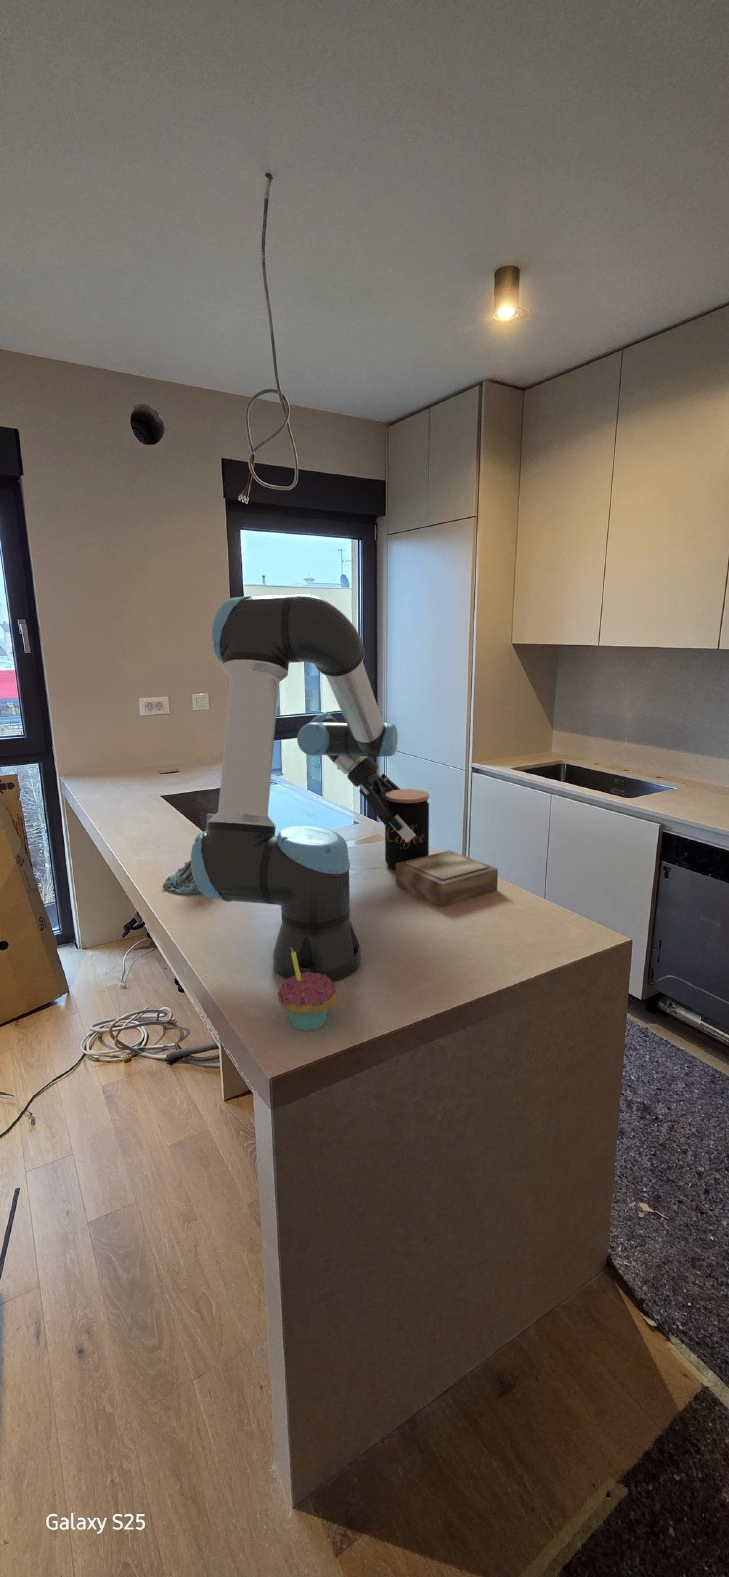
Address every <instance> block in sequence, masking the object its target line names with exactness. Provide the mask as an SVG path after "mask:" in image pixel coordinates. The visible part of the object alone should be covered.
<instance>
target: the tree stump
mask: <svg viewBox="0 0 729 1577" xmlns="http://www.w3.org/2000/svg"><path fill="white" fill-rule="evenodd" d="M215 814H216V813H206V826H205V831H207V830H208V820H210V819H211V818H212V817H213V816H214V815H215ZM163 887H164V889H166V890H167V891H168V892H169V893H173V894H176V895H183V896H185V895H187V896H193V895H196V896H197V895H203V894H202V893H201V892H200V891H199V889H198V887H197V885H196V884H195V881H194V879H193V875H192V870H191V859H190V860H189V861H188V862H184V866H183V867H181V868H178V869H177V871H176V872H175V873H173V874H172V875H169V876H167V878H166V879H165V881H164V883H163Z"/></svg>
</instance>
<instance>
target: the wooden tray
mask: <svg viewBox="0 0 729 1577" xmlns="http://www.w3.org/2000/svg"><path fill="white" fill-rule="evenodd" d="M498 870H499V869H498V868H497V867H495V866H491V865H489V864H486V863H484V862H481V861H478V860H476V859H473V858H471V857H468V856H465V855H463V854H460V853H457V852H456V851H453V850H445V851H441V852H438V853H433V854H429V856H424V857H420V858H416V859H412V860H408V861H404V862H400V863H396V870H395V885H396V886H398V887H401V888H403V889H405V890H407V891H409V892H411V893H412V894H415V895H416V896H419V897H420V898H422V899H424V900H426V901H429V902H430V903H433V904H435V905H436V906H439V907H440V908H443V907H447V906H449V905H452V904H453V905H454V904H456V903H460V902H462V901H466V900H469V899H473V898H476V897H480V896H482V895H486V894H489V893H492V892H495V891H498V878H499V876H498V874H499V872H498Z"/></svg>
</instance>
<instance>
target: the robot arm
mask: <svg viewBox="0 0 729 1577" xmlns="http://www.w3.org/2000/svg"><path fill="white" fill-rule="evenodd" d="M211 641H212V642H213V645H212V649H213V652H214V654H215V656H216V658H217V659H218V660H219V661H220V662H221V663H222V669H223V671H224V673H225V674H226V675H228V676H229V686H228V687H229V688H228V697H227V698H228V699H227V711H226V721H225V732H224V734H225V735H224V741H223V742H224V743H223V744H224V745H223V753H222V754H223V755H222V765H221V774H220V776H221V777H220V786H219V787H220V789H219V798H218V800H219V801H218V809H217V812H216V813H214V814H215V815H214V816H213V817H212V818H211V819H210V820H208V830H207V831H202V832H200V833H198V835H196V837H195V839H194V843H193V844H192V847H191V852H190V860H191V870H192V875H193V879H194V881H195V884H196V885H197V887H198V889H199V891H200V892H201V893H202V894H201V895H203V896H204V897H206V898H209V899H213V900H214V899H215V900H220V901H224V902H226V903H227V902H229V903H230V902H240V903H253V904H263V905H264V904H266V905H276V906H280V912H281V924H280V926H279V927H280V928H279V931H278V934H277V936H276V937H277V938H276V940H275V945H274V949H273V952H272V953H273V954H272V960H273V961H272V962H273V964H272V965H273V968H274V971H275V972H276V973H277V974H278V975H279V976H280V977H282V978H284V979H285V980H286V979H288V978H290V977H292V976H294V975H296V974H295V969H294V964H293V960H292V955H291V953H292V950H291V948H292V949H293V952H296V957H297V961H298V966H299V970H300V973H302V972H303V973H305V972H312V973H320V974H322V975H326V977H328V978H329V979H330V980H331V981H332V982H335V981H338V980H341V979H344V978H346V977H349V976H350V975H351V974H353V973H355V972H356V971H357V970H358V969H359V967H360V965H361V963H362V956H361V955H362V953H361V952H362V950H361V945H360V943H359V940H358V937H357V934H356V932H355V929H354V926H353V923H352V920H351V913H350V912H351V911H350V910H351V909H350V907H351V906H350V901H351V900H350V868H351V863H350V860H349V850H348V844H347V841H346V839H344V837H343V836H342V835H340V834H339V833H337V832H335V831H333V830H331V829H329V828H328V829H327V828H324V827H320V826H314V825H313V826H312V825H302V826H296V825H295V826H287V827H285V828H283V829H281V830H280V831H279V832H278V834H277V835H276V827H277V826H276V824H275V823H274V821H273V820H272V819H271V818H270V816H269V804H270V791H271V782H272V768H273V760H274V759H273V756H274V755H273V754H274V745H275V743H274V742H275V733H276V732H275V731H276V721H277V708H278V696H279V684H280V683H281V682H282V681H283V680H284V679H285V678H287V677H288V675H289V664H291V663H309V664H313V665H315V667H316V670H318V671H319V673H321V674H322V675H323V676H325V677H326V679H327V681H328V684H329V686H330V689H331V690H332V691H331V692H333V693H332V694H333V696H334V698H335V700H336V703H337V704H338V707H339V710H340V711H341V712H340V713H341V714H342V716H343V718H344V721H345V722H338V720H337V719H336V718H335V717H334V716H332V714H330V713H329V712H327V711H324V712H321V713H319V714H317V715H316V716H315V717H314V718H313V719H311V721H310V722H308V723H306V724H305V725H303V726H302V727H301V728H300V729H299V731H298V733H297V738H296V740H297V745H298V748H299V749H300V751H301V752H303V753H304V754H306V755H308V756H312V757H320V756H326V757H328V758H329V759H330V761H332V763H334V765H336V769H337V770H339V771H341V772H342V773H343V775H346V776H347V779H348V780H349V782H350V783H352V785H353V786H354V787H355V788H358V787H360V786H362V787H361V788H360V789H359V793H360V794H361V795H362V796H363V797H364V798H365V800H366V801H367V803H368V804H369V806H370V808H371V809H372V811H374V813H375V814H376V816H377V817H378V819H379V820H380V822H381V823H383V825H384V826H385V825H386V824H387V823H388V822H389V824H390V825H391V826H392V827H393V828H394V829H395V830H396V831H397V832H398V833H399V834H400V836H401V837H402V838H403V839H404V840H405V841H406V842H407V843H408V842H409V841H410V840H411V839H412V838H413V837H414V836H415V835H416V834H415V833H414V832H413V831H412V830H411V829H410V828H409V827H408V826H407V825H406V824H405V822H404V821H403V820H402V819H401V818H400V817H399V816H398V815H396V816H395V814H394V812H393V811H392V809H391V807H390V805H389V803H388V801H387V799H386V798H385V794H386V793H387V792H389V791H393V790H402V789H401V788H400V787H399V786H398V785H396V783H394V782H393V781H392V780H391V779H390V777H388V776H387V775H386V774H385V773H381V774H380V775H379V774H377V772H376V771H378V769H379V766H378V764H377V763H376V762H375V760H373V759H372V758H371V757H376V758H381V757H392V756H394V755H395V754H396V751H397V748H398V739H399V738H398V728H397V727H396V725H395V724H393V723H387V722H383V718H382V716H381V713H380V709H379V707H378V704H377V701H376V698H375V694H374V692H373V689H372V686H371V683H370V679H369V677H368V673H367V670H366V668H365V665H364V662H363V661H364V658H365V647H364V644H363V641H362V638H361V636H360V633H359V632H358V631H357V629H356V627H355V625H353V622H351V620H349V618H348V617H347V616H345V614H344V613H343V612H342V611H341V610H339V609H338V608H337V607H335V605H332V604H331V603H330V602H329V601H327V600H325V599H322V598H321V597H317V596H315V595H311V594H304V593H303V594H300V593H299V594H295V595H294V594H293V595H290V594H289V595H288V594H287V595H258V596H257V595H255V596H254V595H245V596H240V597H231V598H229V599H227V600H225V602H223V603H222V604H221V605H219V608H218V609H217V610H216V614H215V616H214V619H213V623H212V627H211ZM394 816H395V817H394Z"/></svg>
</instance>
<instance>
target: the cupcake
mask: <svg viewBox="0 0 729 1577" xmlns="http://www.w3.org/2000/svg"><path fill="white" fill-rule="evenodd" d="M291 950H292V953H291V955H292V960H293V964H294V969H295V974H296V975H294V976H292V977H290V978H288V979H286V978H285V980H284V981H283V983H282V984H281V985H280V986H279V988H278V989H279V990H278V992H277V995H278V996H277V998H278V999H277V1000H278V1003H279V1004H280V1007H281V1008H282V1009H284V1010H286V1012H287V1014H288V1017H289V1019H290V1021H291V1025H292V1027H294V1028H295V1029H297V1030H299V1031H305V1032H306V1031H307V1032H308V1031H314V1030H317V1029H319V1028H321V1027H322V1026H323V1025H324V1023H325V1021H326V1019H327V1018H326V1016H327V1014H328V1012H329V1009H331V1008H333V1007H335V1004H336V1001H337V1000H338V996H339V995H338V989H337V987H336V985H335V982H334V981H331V980H330V979H329V978H328V977H326V975H322V974H320V973H312V972H305V973H303V972H302V973H300V970H299V966H298V961H297V957H296V952H293V949H292V948H291Z"/></svg>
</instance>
